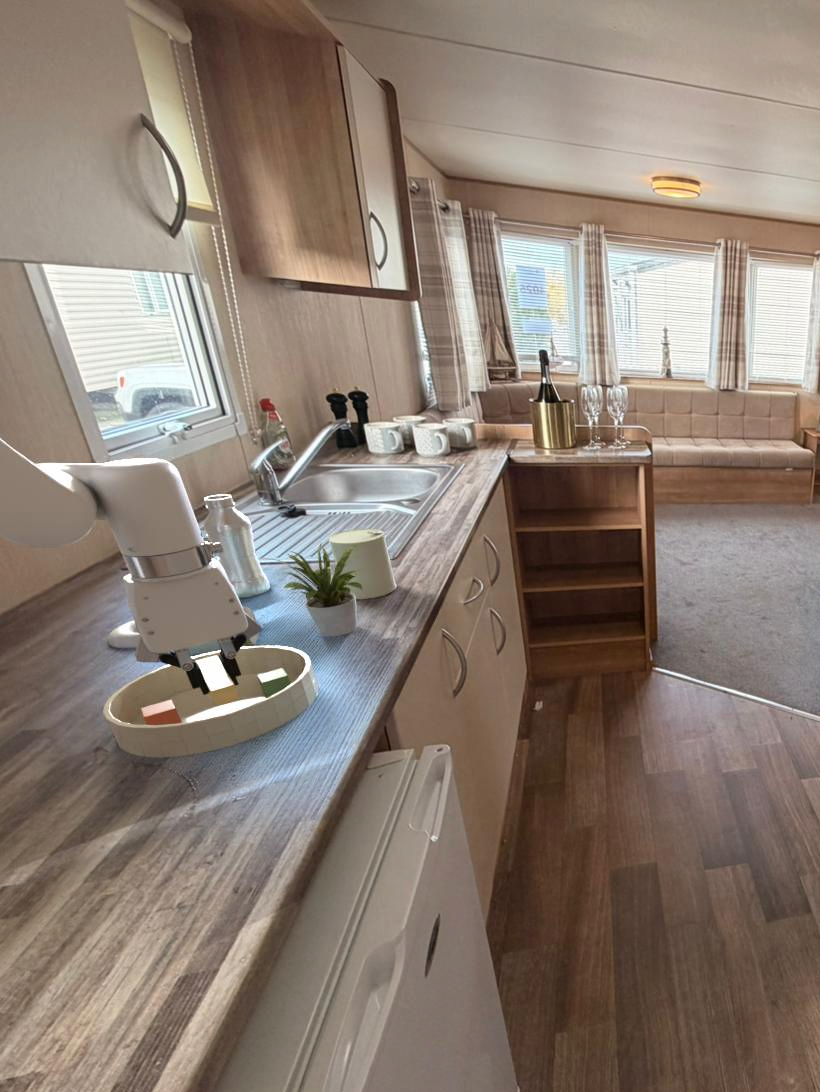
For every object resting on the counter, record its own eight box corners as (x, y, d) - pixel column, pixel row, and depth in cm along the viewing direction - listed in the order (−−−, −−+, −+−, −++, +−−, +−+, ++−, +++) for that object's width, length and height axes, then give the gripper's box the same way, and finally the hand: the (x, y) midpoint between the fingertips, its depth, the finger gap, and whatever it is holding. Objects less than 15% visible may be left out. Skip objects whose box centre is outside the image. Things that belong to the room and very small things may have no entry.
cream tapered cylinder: (401, 592, 127) (388, 535, 122) (346, 603, 122) (330, 544, 117) (392, 578, 134) (379, 523, 129) (339, 587, 128) (324, 531, 123)
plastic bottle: (227, 597, 122) (192, 495, 114) (272, 590, 126) (241, 491, 118) (228, 609, 117) (191, 503, 109) (274, 601, 121) (242, 498, 113)
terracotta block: (152, 736, 82) (143, 717, 81) (149, 727, 84) (140, 708, 83) (183, 727, 84) (175, 708, 83) (179, 717, 86) (171, 699, 85)
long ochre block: (200, 675, 89) (194, 661, 88) (222, 669, 91) (217, 655, 90) (216, 706, 83) (210, 691, 82) (240, 699, 84) (234, 684, 84)
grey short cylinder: (254, 655, 103) (240, 611, 100) (188, 665, 99) (171, 620, 96) (268, 629, 111) (255, 588, 108) (207, 637, 108) (192, 595, 105)
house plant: (273, 661, 101) (242, 566, 95) (284, 626, 112) (256, 538, 105) (379, 643, 108) (356, 553, 102) (379, 612, 119) (359, 529, 112)
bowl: (72, 746, 81) (55, 712, 78) (238, 665, 100) (228, 637, 98) (210, 773, 77) (196, 739, 75) (355, 685, 96) (347, 656, 94)
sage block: (268, 701, 90) (261, 682, 89) (262, 692, 92) (256, 675, 91) (293, 693, 92) (287, 675, 91) (288, 685, 94) (282, 667, 93)
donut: (211, 630, 110) (148, 628, 109) (204, 612, 109) (141, 610, 108) (162, 658, 101) (93, 657, 100) (154, 639, 99) (84, 637, 99)
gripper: (244, 539, 87) (283, 656, 95) (73, 568, 76) (134, 698, 83) (257, 553, 83) (298, 674, 90) (78, 586, 71) (142, 722, 79)
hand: (218, 685), depth 87 cm, fingers closed on long ochre block, 2 cm apart
